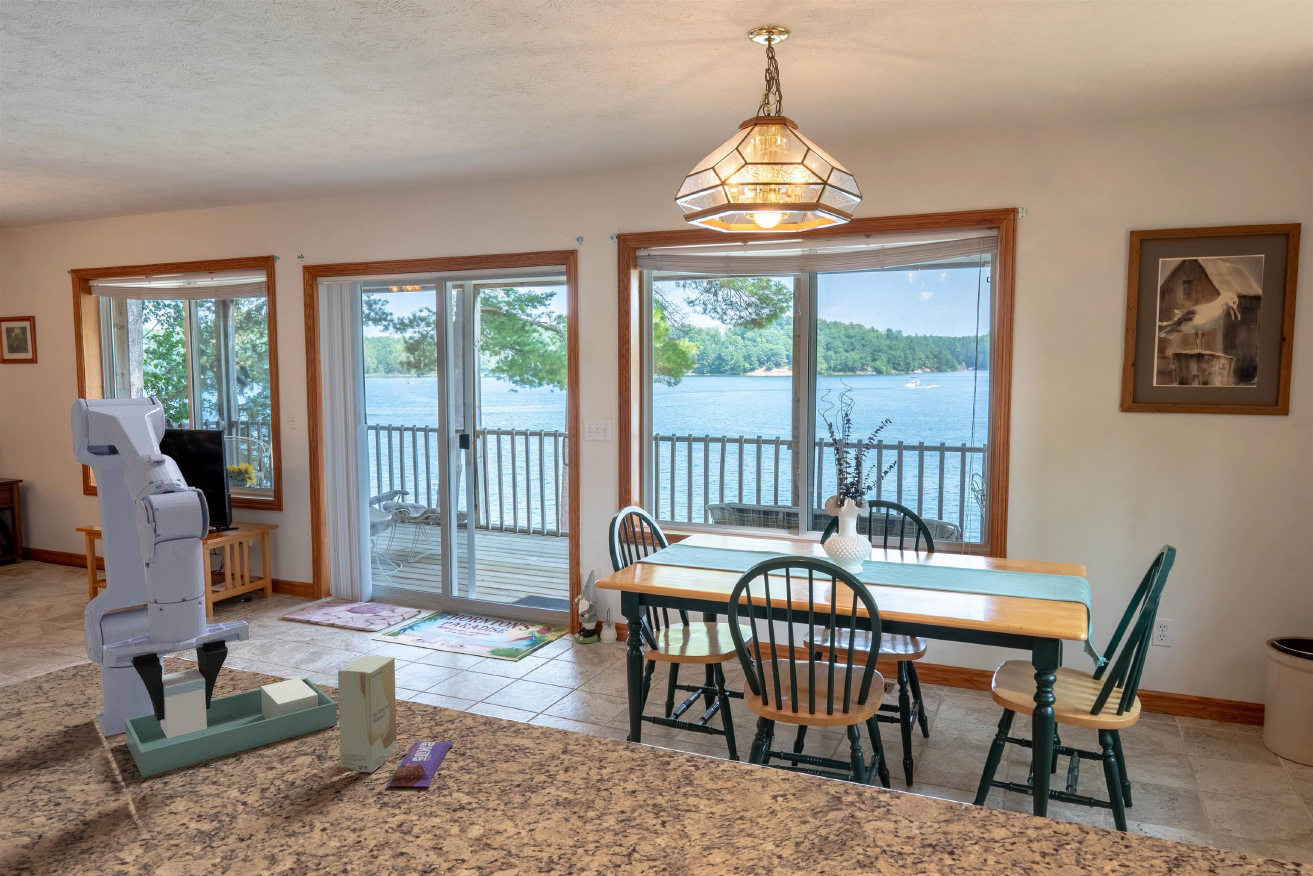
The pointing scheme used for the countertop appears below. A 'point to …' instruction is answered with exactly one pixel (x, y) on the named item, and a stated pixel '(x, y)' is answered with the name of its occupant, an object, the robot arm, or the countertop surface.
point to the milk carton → (183, 703)
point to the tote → (222, 731)
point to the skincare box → (367, 713)
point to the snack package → (420, 764)
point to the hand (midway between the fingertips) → (182, 712)
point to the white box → (287, 698)
